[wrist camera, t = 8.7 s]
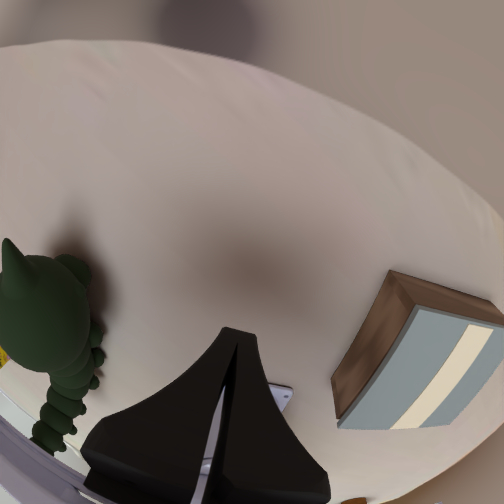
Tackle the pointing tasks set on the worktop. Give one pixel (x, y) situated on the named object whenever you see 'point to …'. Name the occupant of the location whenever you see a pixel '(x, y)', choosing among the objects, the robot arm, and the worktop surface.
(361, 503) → the disposable coffee cup
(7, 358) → the supplement bottle
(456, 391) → the lid
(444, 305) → the box
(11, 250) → the toy figurine
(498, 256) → the worktop surface
